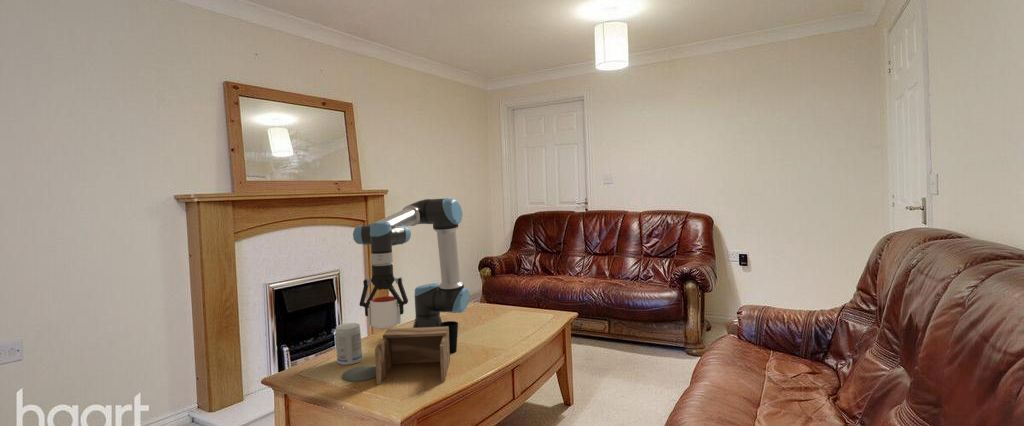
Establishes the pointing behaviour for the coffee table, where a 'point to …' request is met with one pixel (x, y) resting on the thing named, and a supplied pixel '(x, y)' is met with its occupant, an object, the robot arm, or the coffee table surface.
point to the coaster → (360, 373)
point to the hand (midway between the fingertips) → (385, 323)
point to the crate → (413, 348)
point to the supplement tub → (348, 343)
